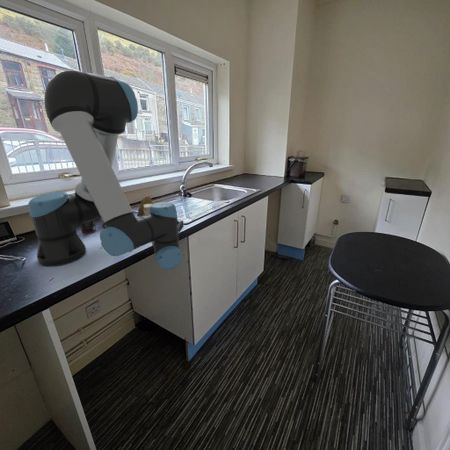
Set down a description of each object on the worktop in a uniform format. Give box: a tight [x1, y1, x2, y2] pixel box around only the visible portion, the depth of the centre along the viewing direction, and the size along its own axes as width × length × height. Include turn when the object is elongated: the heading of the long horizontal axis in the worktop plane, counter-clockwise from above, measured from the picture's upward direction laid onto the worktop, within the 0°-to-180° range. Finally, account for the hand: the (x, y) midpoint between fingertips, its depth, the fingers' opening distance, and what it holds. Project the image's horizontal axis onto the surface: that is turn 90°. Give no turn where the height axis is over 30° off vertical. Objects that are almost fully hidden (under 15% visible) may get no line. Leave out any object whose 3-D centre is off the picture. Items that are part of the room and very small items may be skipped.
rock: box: [136, 196, 153, 217], centre depth 136 cm, size 11×9×10 cm
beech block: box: [143, 202, 156, 216], centre depth 111 cm, size 8×5×12 cm, turn 112°
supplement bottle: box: [79, 220, 97, 235], centre depth 110 cm, size 6×6×11 cm
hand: (155, 220), depth 102 cm, fingers open, 13 cm apart
